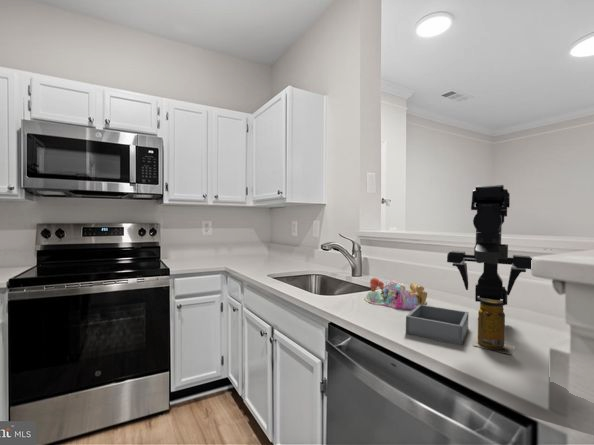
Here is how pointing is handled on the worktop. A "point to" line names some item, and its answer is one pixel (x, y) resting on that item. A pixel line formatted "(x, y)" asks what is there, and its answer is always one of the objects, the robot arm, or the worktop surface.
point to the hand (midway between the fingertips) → (486, 292)
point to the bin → (438, 323)
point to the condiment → (492, 327)
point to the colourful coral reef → (396, 295)
